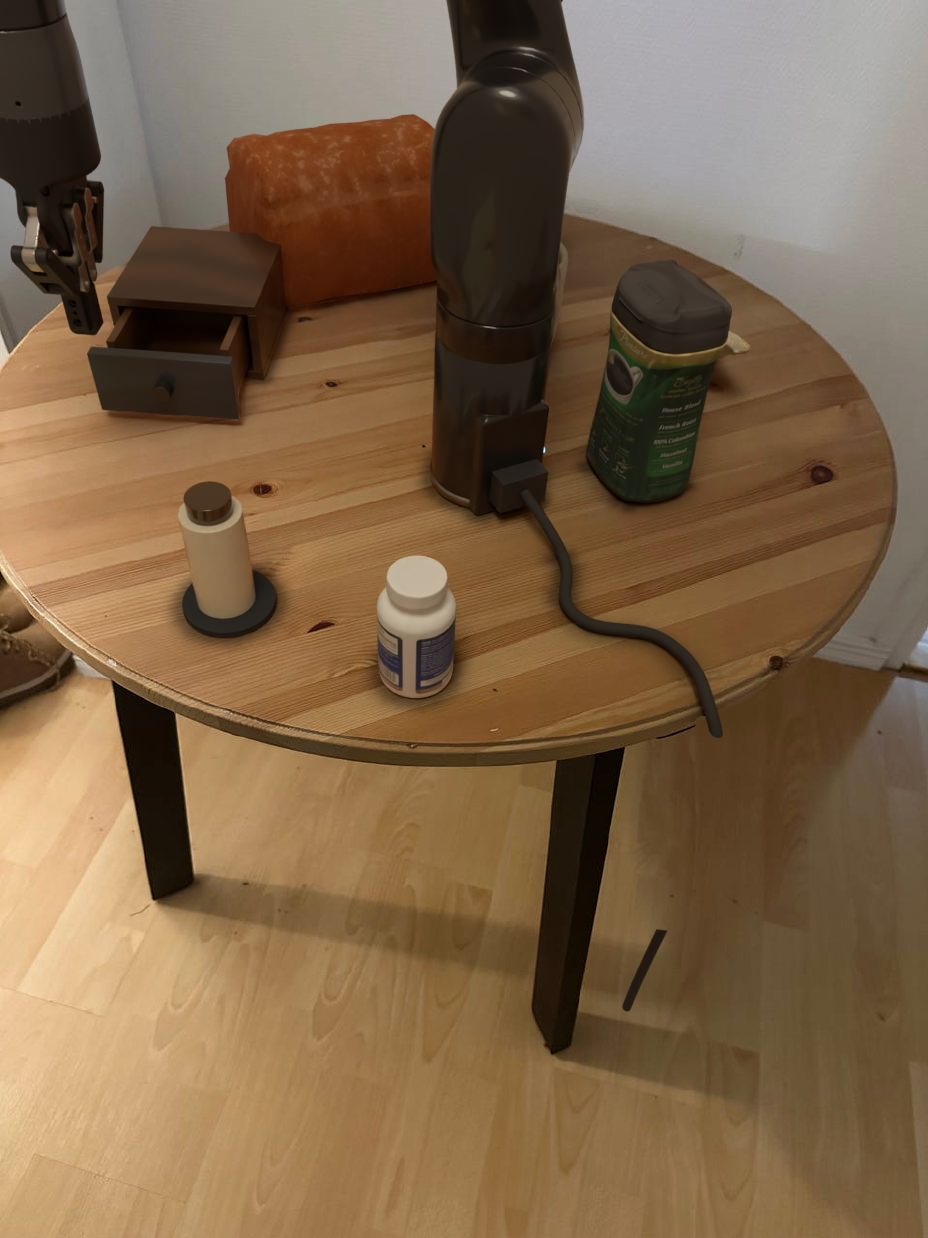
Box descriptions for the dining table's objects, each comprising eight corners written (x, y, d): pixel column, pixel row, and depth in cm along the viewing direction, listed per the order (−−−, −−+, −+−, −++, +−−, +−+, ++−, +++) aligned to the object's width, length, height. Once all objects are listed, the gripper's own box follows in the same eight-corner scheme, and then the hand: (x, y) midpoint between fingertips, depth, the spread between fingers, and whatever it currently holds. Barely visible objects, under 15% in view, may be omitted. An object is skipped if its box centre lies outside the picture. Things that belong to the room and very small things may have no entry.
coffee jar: (700, 496, 84) (757, 302, 71) (621, 515, 82) (665, 318, 69) (647, 434, 90) (690, 244, 77) (572, 450, 88) (603, 257, 75)
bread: (475, 278, 109) (483, 143, 99) (271, 319, 101) (256, 176, 90) (414, 217, 120) (415, 88, 109) (224, 249, 111) (205, 113, 101)
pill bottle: (456, 648, 71) (462, 551, 64) (448, 704, 67) (454, 608, 60) (384, 640, 71) (382, 543, 64) (372, 696, 67) (369, 600, 60)
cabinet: (263, 380, 94) (255, 306, 88) (124, 370, 94) (106, 296, 88) (290, 305, 104) (284, 235, 98) (164, 296, 104) (150, 225, 98)
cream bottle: (254, 575, 74) (238, 472, 67) (258, 615, 71) (241, 513, 64) (196, 581, 73) (173, 478, 66) (197, 622, 70) (174, 519, 63)
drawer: (235, 427, 87) (227, 371, 82) (97, 417, 87) (81, 360, 82) (267, 342, 97) (261, 287, 92) (143, 333, 97) (131, 278, 92)
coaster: (289, 620, 72) (289, 615, 71) (198, 649, 69) (197, 644, 69) (259, 562, 76) (258, 556, 76) (172, 587, 74) (170, 582, 73)
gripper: (48, 134, 58) (109, 380, 71) (115, 64, 67) (158, 292, 80) (-74, 124, 58) (8, 371, 71) (9, 55, 67) (69, 285, 80)
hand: (88, 329), depth 75 cm, fingers closed
